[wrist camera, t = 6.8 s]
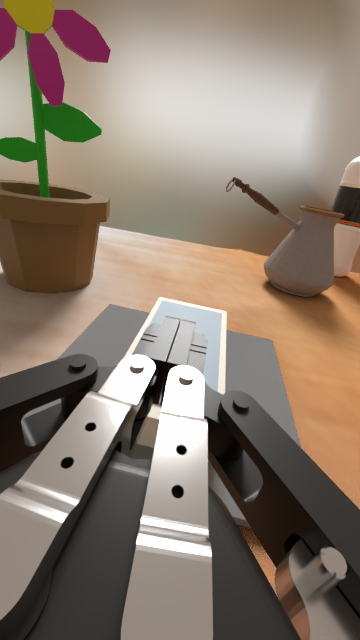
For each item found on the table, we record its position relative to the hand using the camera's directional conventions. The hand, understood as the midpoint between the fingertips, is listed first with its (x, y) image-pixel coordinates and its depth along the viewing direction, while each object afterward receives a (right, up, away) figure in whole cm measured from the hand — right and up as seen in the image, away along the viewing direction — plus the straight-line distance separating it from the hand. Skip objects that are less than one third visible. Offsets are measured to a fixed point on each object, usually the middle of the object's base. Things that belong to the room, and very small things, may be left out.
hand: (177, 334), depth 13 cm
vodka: (+34, +12, +48) cm, 60 cm away
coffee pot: (+15, +7, +33) cm, 37 cm away
